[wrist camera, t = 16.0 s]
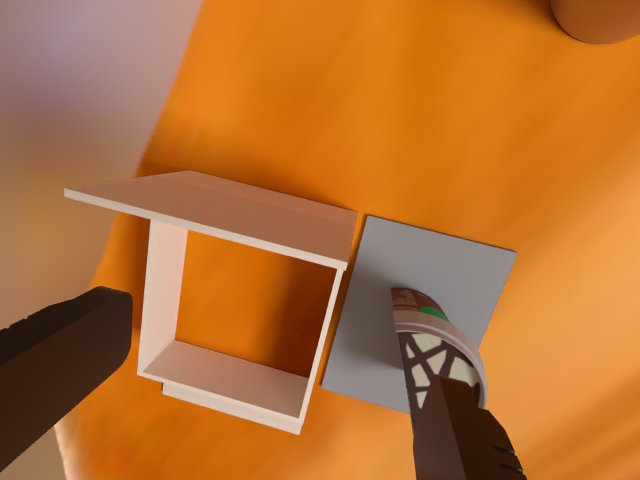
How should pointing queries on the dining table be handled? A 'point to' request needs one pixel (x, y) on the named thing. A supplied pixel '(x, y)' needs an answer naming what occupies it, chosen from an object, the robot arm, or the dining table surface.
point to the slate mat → (418, 274)
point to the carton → (167, 269)
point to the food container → (433, 349)
